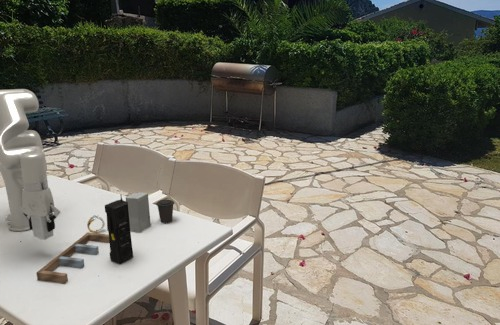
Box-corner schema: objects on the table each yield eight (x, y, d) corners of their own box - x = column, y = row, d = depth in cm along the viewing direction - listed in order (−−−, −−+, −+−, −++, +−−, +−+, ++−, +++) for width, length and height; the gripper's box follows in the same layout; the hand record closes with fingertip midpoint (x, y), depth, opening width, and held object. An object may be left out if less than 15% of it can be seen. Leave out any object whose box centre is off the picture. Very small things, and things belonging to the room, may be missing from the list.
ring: (88, 235, 158) (86, 218, 156) (87, 232, 161) (85, 215, 159) (105, 232, 162) (104, 215, 159) (104, 229, 164) (103, 212, 162)
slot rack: (37, 280, 127) (36, 272, 126) (88, 238, 156) (87, 232, 155) (65, 283, 126) (64, 275, 125) (111, 241, 154) (110, 234, 153)
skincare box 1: (54, 235, 142) (50, 207, 138) (44, 240, 138) (39, 211, 134) (43, 231, 144) (39, 203, 140) (33, 236, 140) (28, 207, 137)
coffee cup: (156, 218, 175) (154, 199, 173) (173, 216, 179) (172, 196, 176) (159, 226, 168) (157, 205, 166) (176, 223, 171) (175, 203, 169)
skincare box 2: (140, 233, 161) (138, 199, 157) (127, 230, 164) (124, 197, 159) (151, 225, 169) (149, 192, 165) (138, 222, 171) (136, 190, 167)
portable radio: (118, 266, 136) (111, 203, 129) (107, 261, 139) (100, 199, 132) (134, 256, 143) (129, 196, 136) (124, 252, 146) (118, 193, 139)
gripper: (6, 186, 132) (14, 231, 138) (50, 191, 130) (56, 236, 135) (22, 179, 140) (29, 222, 145) (64, 183, 137) (69, 227, 142)
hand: (42, 228), depth 140 cm, fingers closed on skincare box 1, 6 cm apart
